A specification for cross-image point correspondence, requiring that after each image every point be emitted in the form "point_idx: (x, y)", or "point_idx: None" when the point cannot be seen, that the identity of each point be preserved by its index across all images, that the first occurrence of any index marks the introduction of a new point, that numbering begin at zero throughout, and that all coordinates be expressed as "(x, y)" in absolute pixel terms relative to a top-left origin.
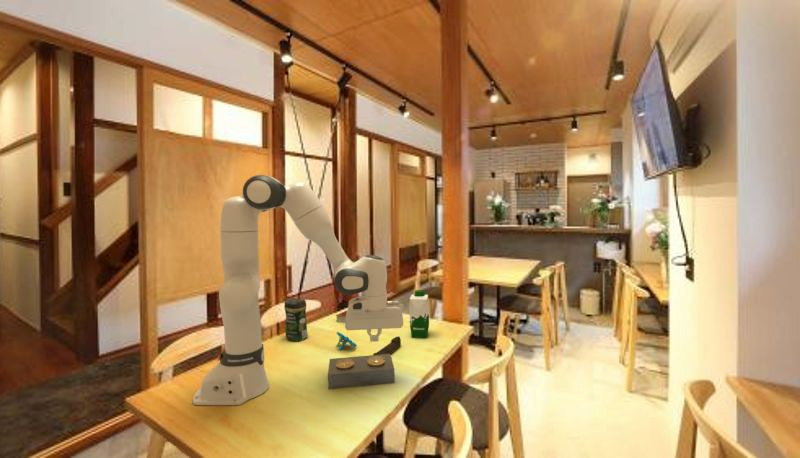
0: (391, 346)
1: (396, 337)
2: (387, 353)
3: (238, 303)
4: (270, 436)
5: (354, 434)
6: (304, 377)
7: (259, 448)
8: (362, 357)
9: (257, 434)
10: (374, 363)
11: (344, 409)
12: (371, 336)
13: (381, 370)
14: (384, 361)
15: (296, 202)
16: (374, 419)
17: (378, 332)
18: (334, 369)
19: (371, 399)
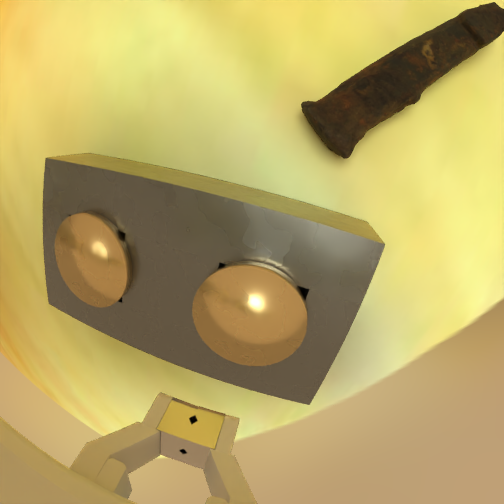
0: (448, 67)
1: (495, 11)
2: (403, 106)
3: None
4: (33, 368)
5: None
6: (29, 164)
7: (33, 380)
8: (187, 209)
9: (18, 351)
10: (225, 352)
11: (129, 389)
12: (152, 456)
13: (250, 385)
14: (288, 356)
15: None
16: None
17: (217, 496)
18: (61, 278)
19: (200, 396)
